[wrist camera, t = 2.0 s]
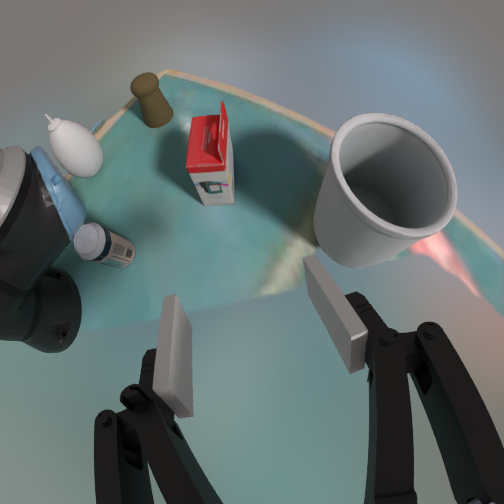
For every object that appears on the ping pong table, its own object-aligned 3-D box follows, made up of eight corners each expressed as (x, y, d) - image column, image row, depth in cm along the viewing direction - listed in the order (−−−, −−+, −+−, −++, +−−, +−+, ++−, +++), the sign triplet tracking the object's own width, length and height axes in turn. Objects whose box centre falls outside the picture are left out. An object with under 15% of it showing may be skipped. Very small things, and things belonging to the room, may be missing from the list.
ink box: (206, 162, 45) (186, 101, 31) (235, 160, 45) (224, 97, 31) (203, 207, 43) (177, 153, 29) (235, 206, 43) (221, 149, 29)
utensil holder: (376, 292, 38) (442, 264, 21) (290, 242, 41) (305, 181, 24) (408, 214, 41) (464, 158, 24) (332, 169, 44) (359, 93, 27)
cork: (175, 121, 49) (159, 81, 38) (146, 132, 48) (125, 94, 38) (171, 102, 50) (156, 64, 40) (144, 112, 50) (125, 76, 39)
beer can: (126, 232, 42) (91, 212, 30) (141, 256, 42) (108, 243, 30) (105, 250, 42) (65, 236, 30) (119, 274, 41) (80, 267, 29)
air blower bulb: (118, 155, 47) (73, 93, 30) (98, 190, 45) (42, 135, 28) (92, 150, 48) (46, 95, 31) (73, 183, 46) (19, 133, 29)
